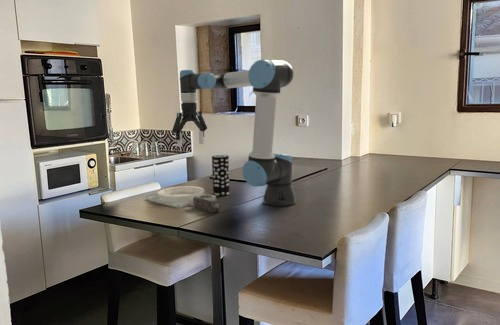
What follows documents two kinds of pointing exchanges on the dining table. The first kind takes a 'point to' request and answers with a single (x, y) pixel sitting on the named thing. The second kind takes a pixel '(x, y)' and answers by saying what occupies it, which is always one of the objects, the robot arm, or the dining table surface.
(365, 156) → the dining table surface
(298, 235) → the dining table surface
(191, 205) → the pebble
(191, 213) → the dining table surface
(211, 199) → the stone
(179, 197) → the bowl
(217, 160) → the spotted tube
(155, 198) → the tray
